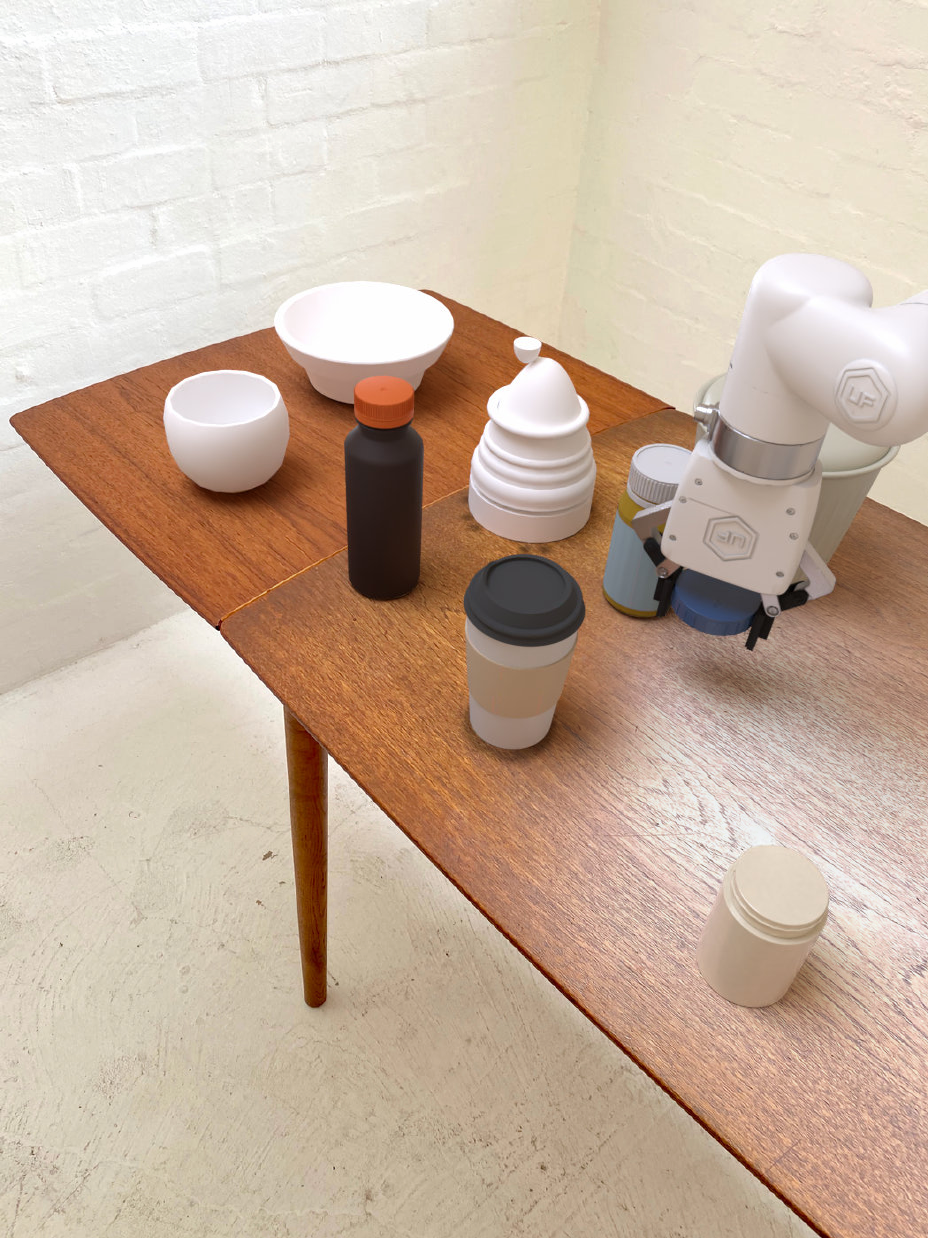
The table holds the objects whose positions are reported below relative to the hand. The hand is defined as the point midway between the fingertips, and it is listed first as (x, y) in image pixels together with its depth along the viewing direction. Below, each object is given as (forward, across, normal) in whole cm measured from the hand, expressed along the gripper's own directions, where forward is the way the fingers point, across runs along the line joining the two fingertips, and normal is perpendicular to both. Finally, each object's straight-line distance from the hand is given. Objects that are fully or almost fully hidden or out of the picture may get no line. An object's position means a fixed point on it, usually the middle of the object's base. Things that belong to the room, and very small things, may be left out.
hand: (708, 622), depth 81 cm
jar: (+7, +11, -24) cm, 27 cm away
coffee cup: (+7, -12, -12) cm, 18 cm away
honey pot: (+7, -23, +16) cm, 29 cm away
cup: (+7, -52, +4) cm, 52 cm away
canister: (+7, 0, +19) cm, 20 cm away
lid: (-3, 0, 0) cm, 3 cm away
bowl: (+7, -51, +29) cm, 59 cm away
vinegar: (+7, -30, -2) cm, 31 cm away
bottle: (+7, -8, +8) cm, 13 cm away
